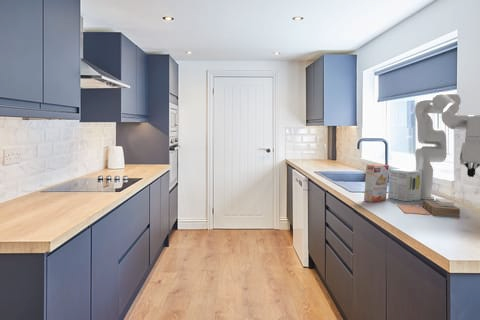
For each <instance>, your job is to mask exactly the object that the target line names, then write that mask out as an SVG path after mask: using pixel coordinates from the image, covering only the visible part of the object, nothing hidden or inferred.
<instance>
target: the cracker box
mask: <svg viewBox="0 0 480 320" xmlns="http://www.w3.org/2000/svg"><path fill="white" fill-rule="evenodd" d="M389 171H390V167H389V164H381V163H380V164H378V163H377V164H366V168H365V178H364V180H365V181H364V194H363V195H364V197H363V201H364V202H367V203H368V202H370V203H376V202H383V201H387V196H388V184H389Z"/></svg>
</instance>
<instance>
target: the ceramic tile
mask: <svg viewBox="0 0 480 320" xmlns="http://www.w3.org/2000/svg"><path fill="white" fill-rule="evenodd" d="M435 200H436V203H438V204H439V205H441V206H455V202H454V201H452V200H451V199H448V198H435Z"/></svg>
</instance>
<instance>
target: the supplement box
mask: <svg viewBox="0 0 480 320" xmlns="http://www.w3.org/2000/svg"><path fill="white" fill-rule="evenodd" d="M421 181H422V171H419V170H416V169H409V168H389V173H388V188H387V198H389V199H394V200H398V201H399V200H400V201H401V202H403V201H404V202H412V201H413V200H414V201H420V200H421V199H420V196H421ZM414 201H413V202H414Z"/></svg>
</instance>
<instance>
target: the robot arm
mask: <svg viewBox="0 0 480 320" xmlns="http://www.w3.org/2000/svg"><path fill="white" fill-rule="evenodd" d="M461 102H462V100H461V96H460V95H459V94H457V93H456V92H455V93H453V92H452V93H451V92H439V93H438V92H437V93H436V94H435V95H434V96H433V97H432V98H423V99H419V100H418V101H417V102H416V103H415V107H414V115H415V117H416V121H417V125H416V127H417V141H418V143H419V144H421V145H423V146H419V147H417V148H416V150H415V152H414V156H415V170H419V171H422V181H421V196H420V200H434V199H435V196H432V192H433V177H434V168H433V166H432V163H443V162H444V161H445V160H446V158H447V151H448V149H447V135H446V133H445V130H443V129H440V128H434V125H433V119H432V117H431V115H429V114H441V121H442V122H443V124H444V125H445V126H446V127H447V128H448V129H451V130H460V131H461V130H464V131H465V136H464V137H465V138H464V141H463V142H462V145H461V149H460V154H459V161H460V162H459V165H463V166H465V167H466V169H467V172H466V174H467V177H470V178H474V177H475V175H476V170H477V169H478V168H479V167H480V114H457V113H458V112H459V110H460V104H461ZM425 145H426V146H425ZM428 145H430V146H428ZM431 145H434V146H431Z"/></svg>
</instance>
